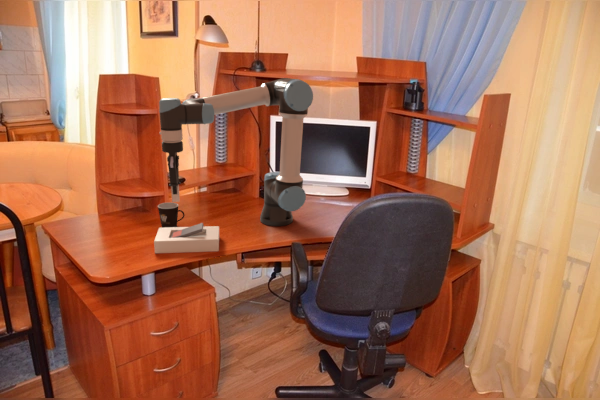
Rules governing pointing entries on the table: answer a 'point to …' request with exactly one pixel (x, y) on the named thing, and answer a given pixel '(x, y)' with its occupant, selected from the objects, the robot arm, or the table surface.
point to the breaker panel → (187, 240)
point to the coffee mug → (169, 214)
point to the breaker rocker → (188, 231)
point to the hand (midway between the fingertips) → (175, 201)
